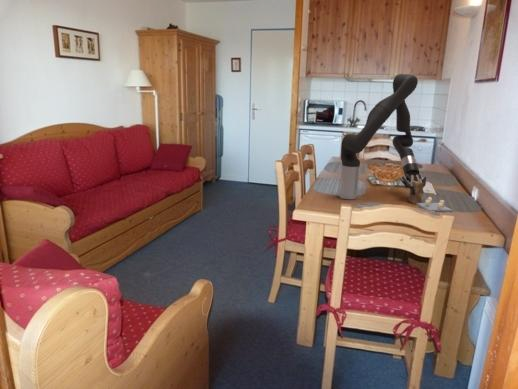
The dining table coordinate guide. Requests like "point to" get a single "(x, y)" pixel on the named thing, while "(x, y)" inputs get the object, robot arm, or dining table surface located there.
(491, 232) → the dining table surface
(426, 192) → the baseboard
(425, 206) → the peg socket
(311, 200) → the dining table surface
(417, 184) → the brown rectangular block
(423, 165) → the dining table surface
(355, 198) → the robot arm
